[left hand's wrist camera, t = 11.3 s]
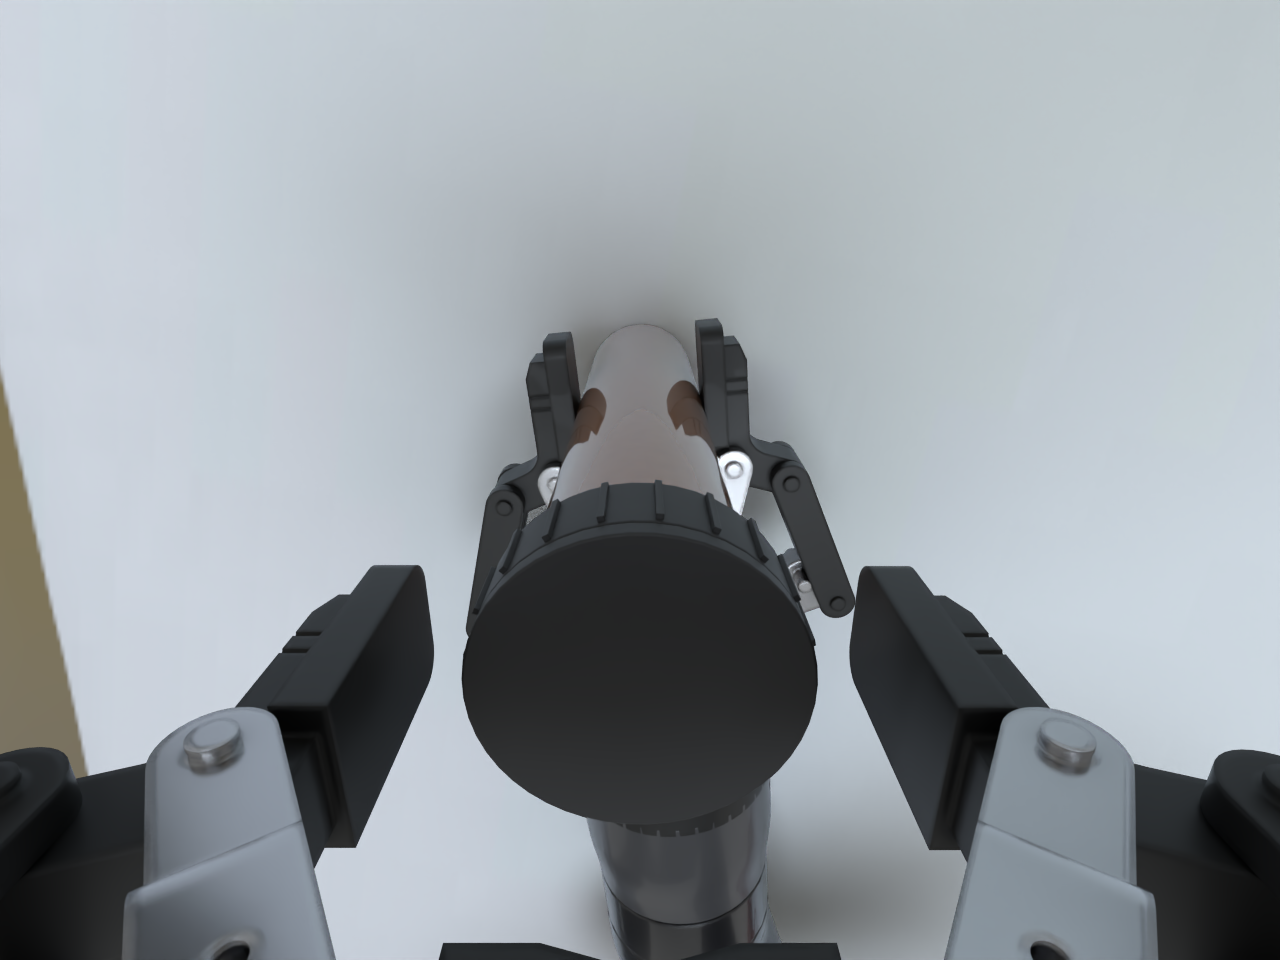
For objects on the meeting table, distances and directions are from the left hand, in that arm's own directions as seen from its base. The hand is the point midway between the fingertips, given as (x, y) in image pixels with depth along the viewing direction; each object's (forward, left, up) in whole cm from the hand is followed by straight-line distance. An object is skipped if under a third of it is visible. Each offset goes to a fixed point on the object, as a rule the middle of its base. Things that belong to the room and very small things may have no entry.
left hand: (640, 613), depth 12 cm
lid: (0, 0, +2) cm, 2 cm away
